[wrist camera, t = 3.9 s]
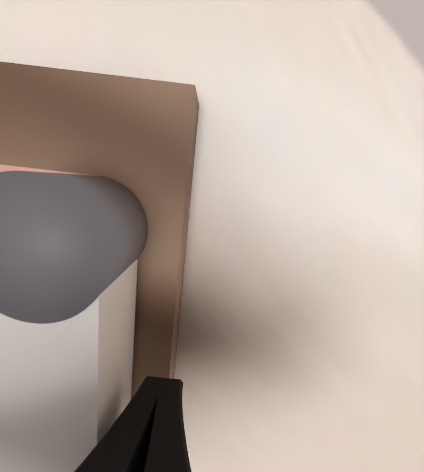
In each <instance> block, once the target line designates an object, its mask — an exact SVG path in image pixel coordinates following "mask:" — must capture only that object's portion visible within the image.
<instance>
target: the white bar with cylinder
mask: <svg viewBox="0 0 424 472" xmlns="http://www.w3.org/2000/svg"><path fill="white" fill-rule="evenodd" d="M146 240H147V221H146V217H145V213H144V211H143V209H142V206H141V205H140V203H139V201H138V200H137V199H136V197H135V196H134V195H133V194H132V193H131V192H130V191H129V190H128V189H127V188H126V187H124V186H123V185H121V184H120V183H118V182H116V181H114V180H112V179H109V178H106V177H102V176H93V175H78V174H62V173H47V172H32V171H3V172H0V472H74V471H75V470H76V469H77V468H78V466H79V465H80V464H81V463H82V462H83V461H84V460H85V458H86V457H87V456H88V455H89V453H90V452H91V451H92V450H93V449H94V447H95V446H96V445H97V444H98V443H99V441H100V440H101V439H102V438H103V437H104V435H105V434H106V433H107V432H108V430H109V429H110V428H111V426H112V425H113V424H114V422H115V421H116V420H117V418H118V417H119V416H120V414H121V413H122V412H123V410H124V409H125V408H126V406H127V405H128V403H129V402H130V401H131V387H132V366H133V346H134V325H135V305H136V285H137V264H138V258H139V256H140V255H141V253H142V251H143V249H144V247H145V244H146Z"/></svg>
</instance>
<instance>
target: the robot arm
mask: <svg viewBox="0 0 424 472" xmlns="http://www.w3.org/2000/svg"><path fill="white" fill-rule="evenodd" d="M182 388H183V382H182V381H181V380H179V379H170V378H161V377H152V376H147V377H146V378H145V379H144V381H143V382H142V384H141V386H140V387H139V389H138V390H137V392H136V393H135V395H134V396H133V398H132V399H131V401H130V402H129V403H128V405H127V406H126V408H125V409H124V410H123V412H122V413H121V414H120V416H119V417H118V418H117V420H116V421H115V422H114V424H113V425H112V426H111V428H110V429H109V430H108V432H107V433H106V434H105V435H104V437H103V438H102V439H101V440H100V441H99V443H98V444H97V445H96V446H95V447H94V449H93V450H92V451H91V452H90V453H89V455H88V456H87V457H86V458H85V460H84V461H83V462H82V463H81V464H80V465H79V466H78V468H77V469H76V470H75V471H74V472H191V468H190V463H189V457H188V451H187V445H186V438H185V430H184V422H183V410H182Z"/></svg>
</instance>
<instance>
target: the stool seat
mask: <svg viewBox="0 0 424 472" xmlns="http://www.w3.org/2000/svg"><path fill="white" fill-rule="evenodd" d="M198 110H199V102H198V98H197V93H196V88H195V85H190V84H182V83H174V82H165V81H157V80H149V79H140V78H132V77H124V76H115V75H107V74H99V73H90V72H82V71H73V70H65V69H57V68H48V67H40V66H32V65H23V64H15V63H7V62H0V172H3V171H32V172H47V173H62V174H78V175H93V176H102V177H106V178H109V179H112V180H114V181H116V182H118V183H120V184H121V185H123V186H124V187H126V188H127V189H128V190H129V191H130V192H131V193H132V194H133V195H134V196H135V197H136V199H137V200H138V201H139V203H140V205H141V206H142V209H143V211H144V213H145V217H146V221H147V240H146V244H145V247H144V249H143V251H142V253H141V255H140V256H139V258H138V264H137V285H136V305H135V325H134V346H133V366H132V387H131V399H132V398H133V396H134V395H135V393H136V392H137V390H138V389H139V387H140V386H141V384H142V382H143V381H144V379H145V378H146V377H147V376H152V377H161V378H170V379H174V369H175V358H176V347H177V336H178V326H179V315H180V304H181V293H182V283H183V272H184V261H185V250H186V240H187V229H188V218H189V207H190V197H191V186H192V175H193V164H194V153H195V143H196V132H197V121H198Z"/></svg>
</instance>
